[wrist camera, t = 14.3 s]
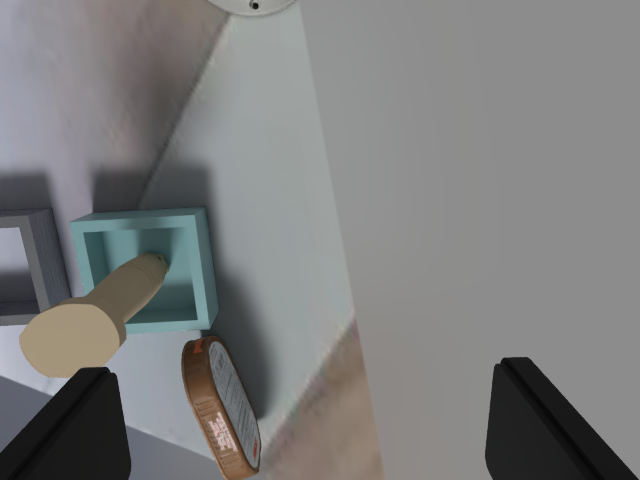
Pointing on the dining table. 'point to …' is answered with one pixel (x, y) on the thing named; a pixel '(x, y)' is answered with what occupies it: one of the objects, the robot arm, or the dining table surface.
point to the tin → (221, 407)
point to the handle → (92, 319)
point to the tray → (157, 238)
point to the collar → (36, 264)
